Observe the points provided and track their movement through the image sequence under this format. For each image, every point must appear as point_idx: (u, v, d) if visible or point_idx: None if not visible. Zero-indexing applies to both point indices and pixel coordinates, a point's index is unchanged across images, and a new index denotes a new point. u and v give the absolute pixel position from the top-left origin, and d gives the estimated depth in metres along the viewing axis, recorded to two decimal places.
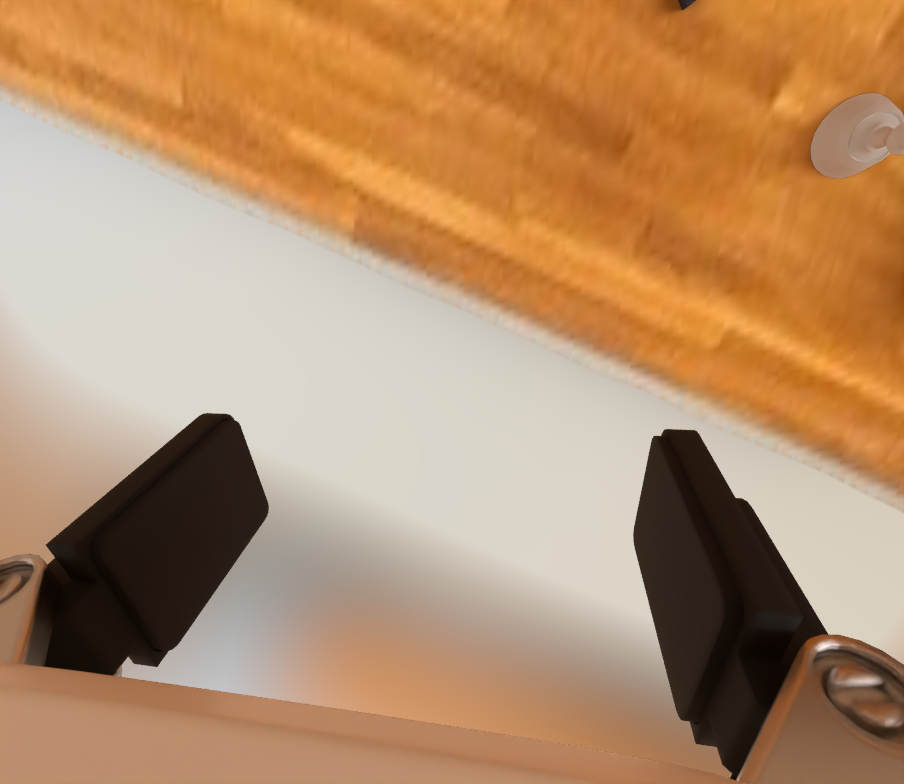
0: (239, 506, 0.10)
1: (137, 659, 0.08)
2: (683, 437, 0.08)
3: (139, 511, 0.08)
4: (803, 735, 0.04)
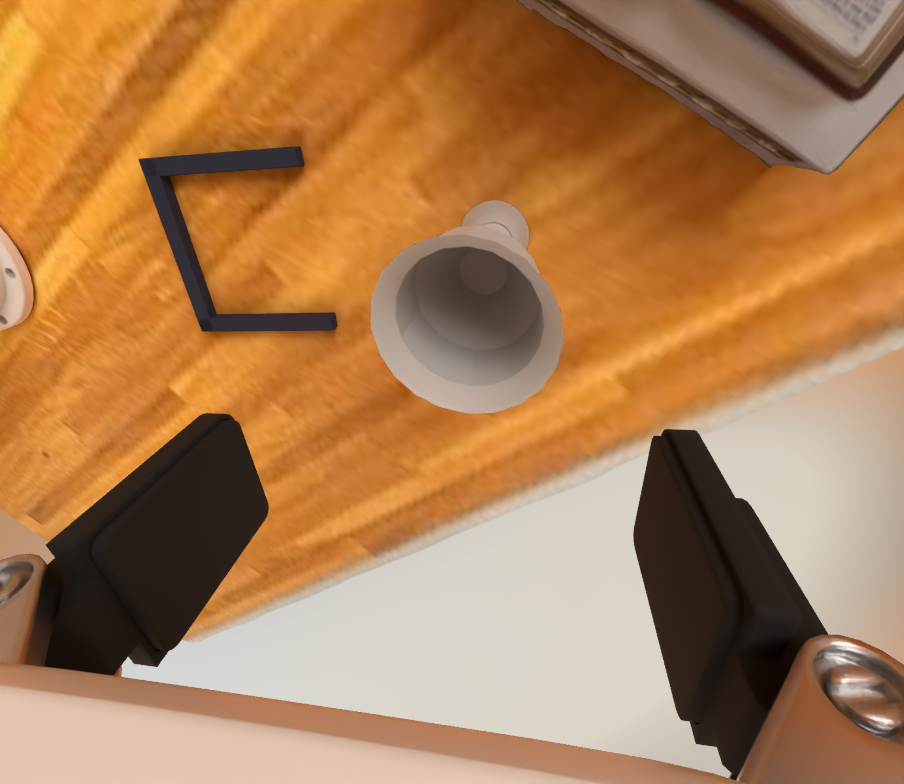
0: (239, 506, 0.10)
1: (137, 658, 0.08)
2: (683, 437, 0.08)
3: (139, 511, 0.08)
4: (803, 735, 0.04)
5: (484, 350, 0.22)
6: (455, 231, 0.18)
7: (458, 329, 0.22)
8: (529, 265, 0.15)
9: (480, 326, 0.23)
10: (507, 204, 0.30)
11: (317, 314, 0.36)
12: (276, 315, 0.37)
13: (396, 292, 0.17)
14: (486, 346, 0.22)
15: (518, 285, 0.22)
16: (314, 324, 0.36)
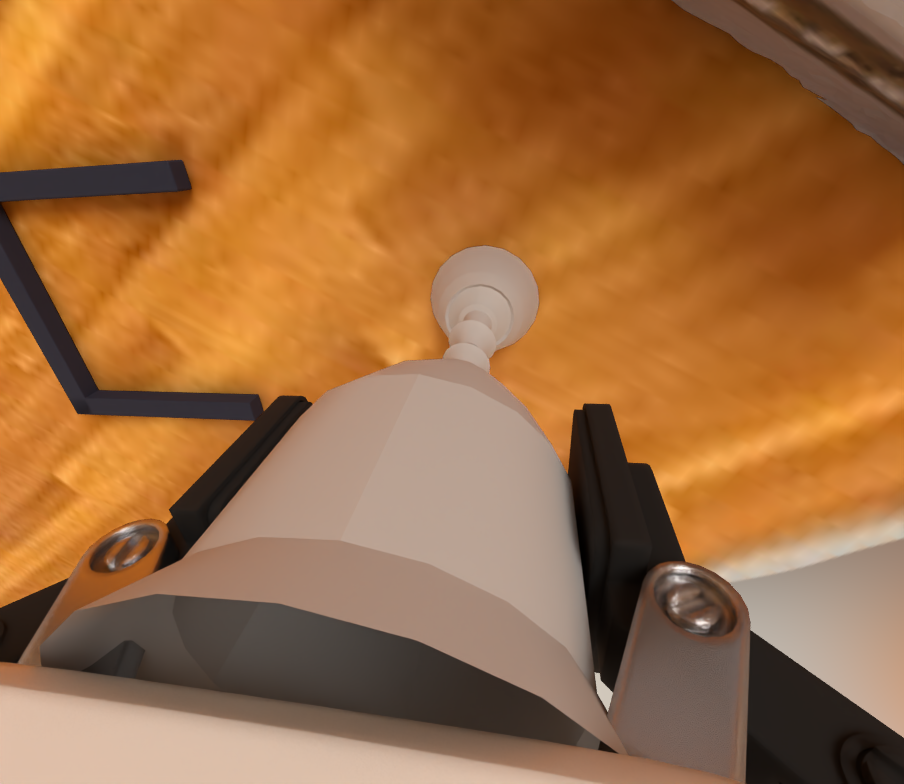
0: None
1: None
2: (596, 410, 0.09)
3: (243, 482, 0.08)
4: (630, 632, 0.05)
5: None
6: (357, 405, 0.07)
7: None
8: (557, 702, 0.04)
9: None
10: (505, 253, 0.19)
11: (233, 397, 0.25)
12: (176, 396, 0.26)
13: (168, 610, 0.06)
14: None
15: None
16: (228, 412, 0.25)
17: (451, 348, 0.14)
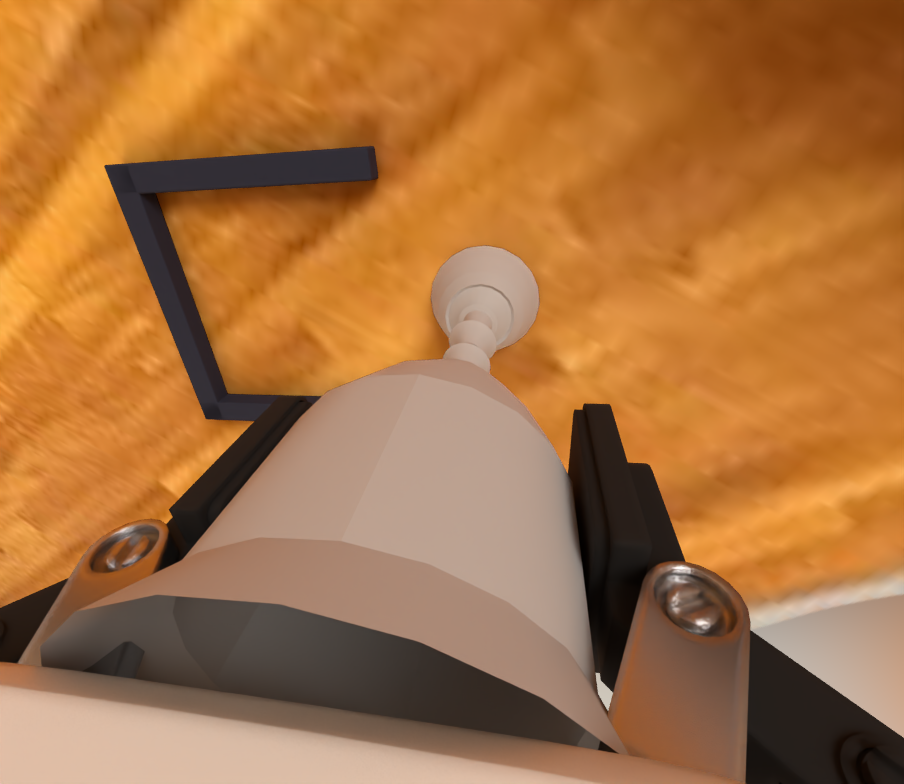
0: None
1: None
2: (596, 410, 0.09)
3: (243, 482, 0.08)
4: (630, 631, 0.05)
5: None
6: (357, 405, 0.07)
7: None
8: (558, 703, 0.04)
9: None
10: (505, 253, 0.19)
11: None
12: None
13: (168, 611, 0.06)
14: None
15: None
16: None
17: (451, 348, 0.14)
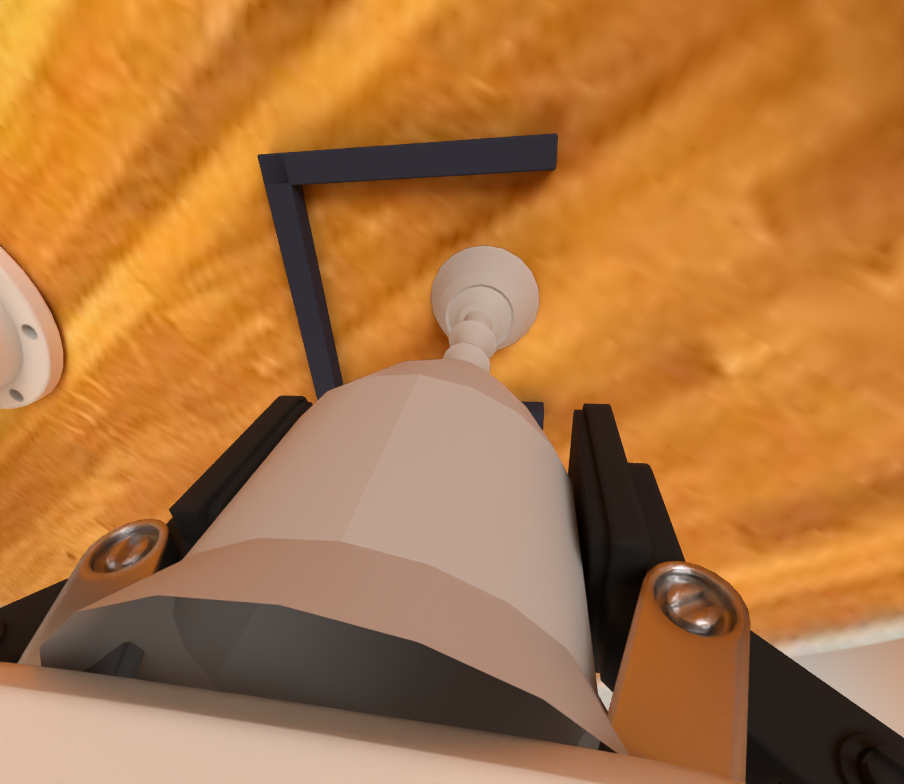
0: None
1: None
2: (596, 410, 0.09)
3: (242, 482, 0.08)
4: (630, 631, 0.05)
5: None
6: (357, 406, 0.07)
7: None
8: (558, 704, 0.04)
9: None
10: (505, 253, 0.19)
11: None
12: None
13: (168, 611, 0.06)
14: None
15: None
16: None
17: (451, 348, 0.14)
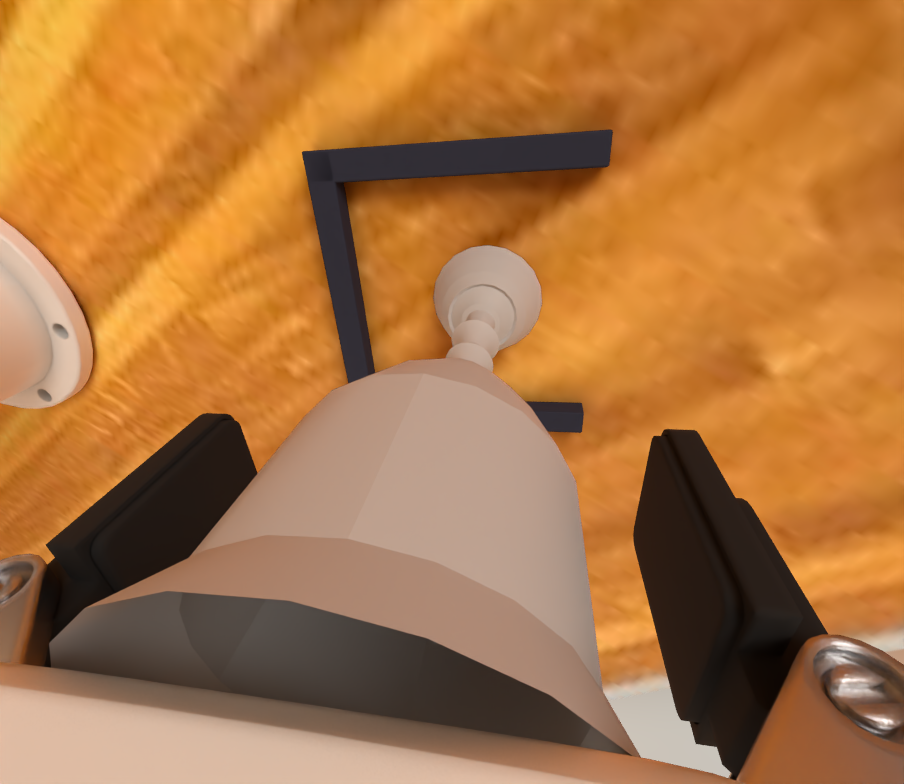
0: None
1: None
2: (683, 437, 0.08)
3: (139, 511, 0.08)
4: (803, 735, 0.04)
5: None
6: (362, 404, 0.07)
7: None
8: (565, 700, 0.04)
9: None
10: (508, 252, 0.19)
11: (555, 406, 0.22)
12: None
13: (175, 608, 0.06)
14: None
15: None
16: (551, 423, 0.22)
17: (454, 348, 0.14)
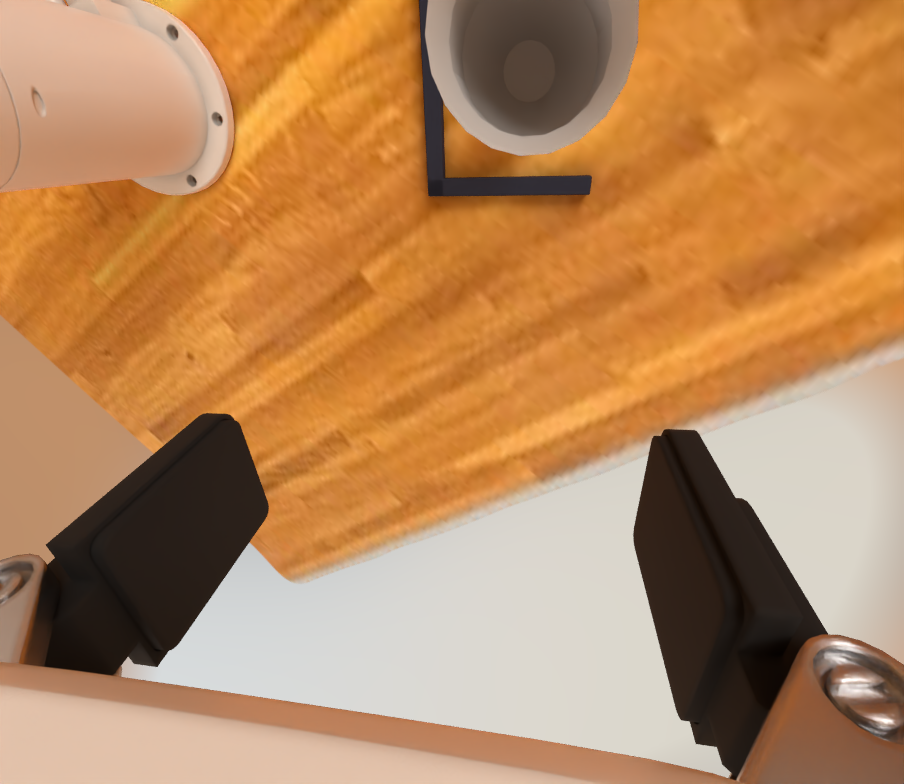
0: (239, 506, 0.10)
1: (137, 659, 0.08)
2: (683, 437, 0.08)
3: (139, 511, 0.08)
4: (803, 735, 0.04)
5: (531, 136, 0.20)
6: None
7: (502, 120, 0.21)
8: None
9: (524, 122, 0.22)
10: None
11: (571, 176, 0.32)
12: (522, 177, 0.32)
13: (453, 4, 0.16)
14: (533, 134, 0.20)
15: (568, 76, 0.21)
16: (569, 186, 0.32)
17: None
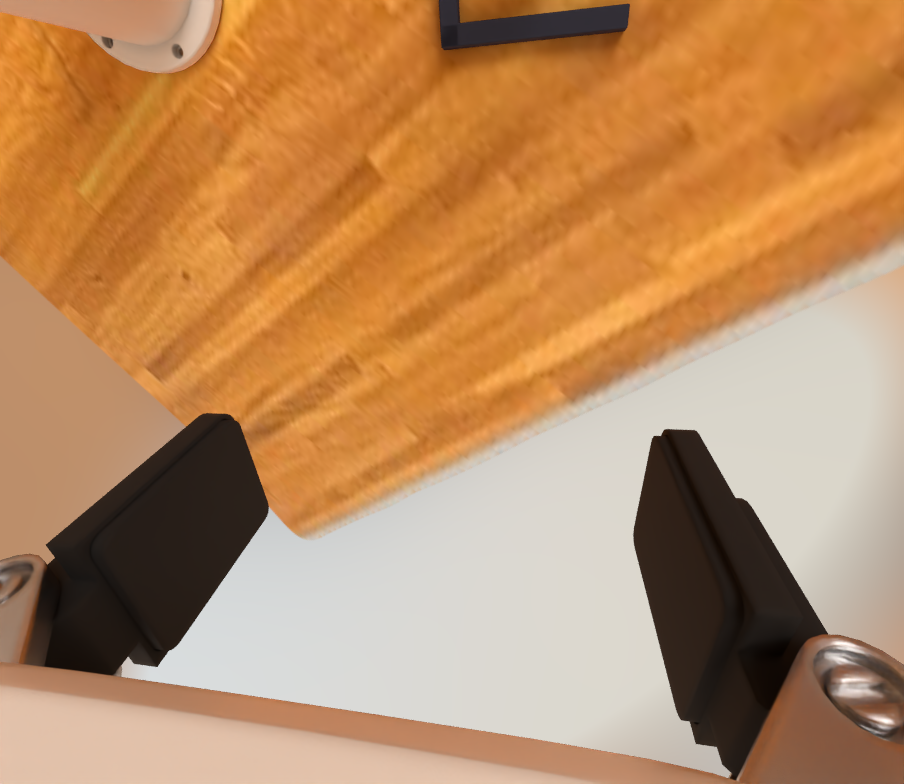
0: (239, 506, 0.10)
1: (137, 658, 0.08)
2: (683, 437, 0.08)
3: (139, 511, 0.08)
4: (803, 735, 0.04)
5: None
6: None
7: None
8: None
9: None
10: None
11: None
12: None
13: None
14: None
15: None
16: (603, 19, 0.28)
17: None
